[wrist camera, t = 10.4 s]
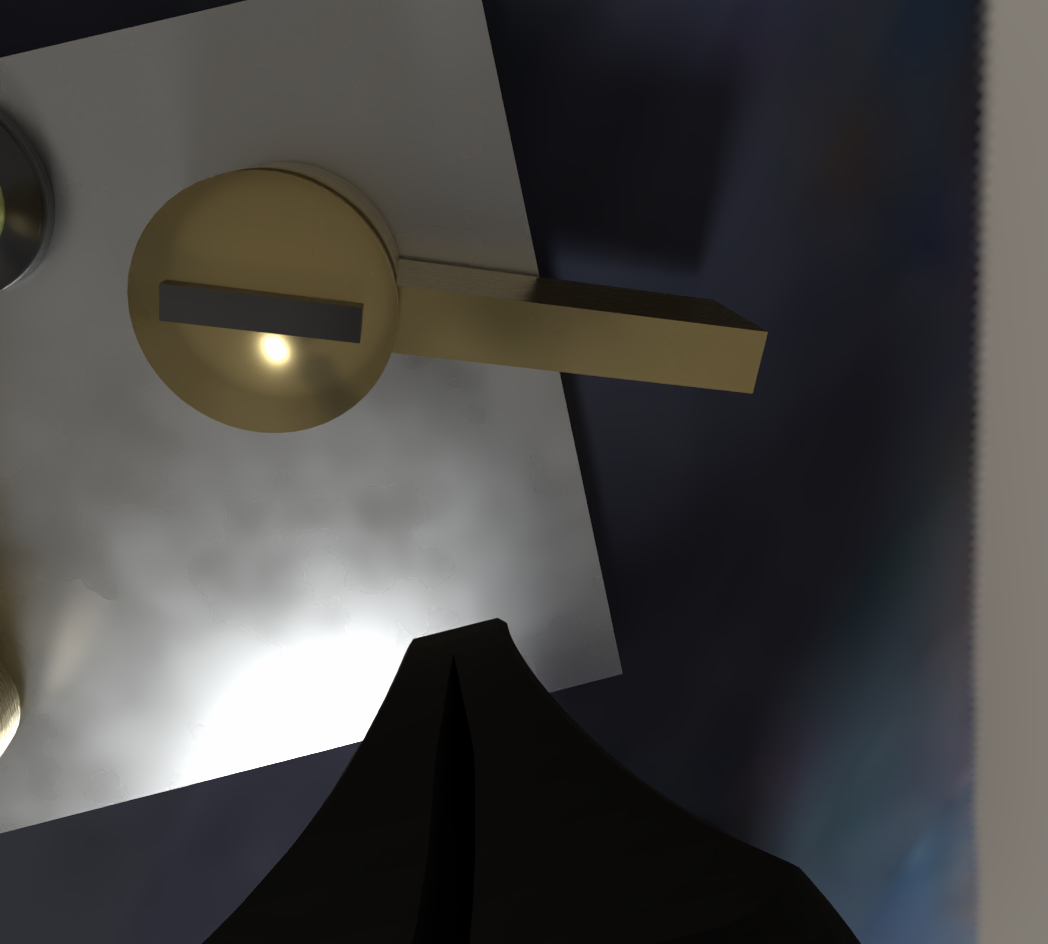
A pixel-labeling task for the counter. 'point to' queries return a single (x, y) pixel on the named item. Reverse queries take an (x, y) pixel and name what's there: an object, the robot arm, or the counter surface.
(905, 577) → the counter surface
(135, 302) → the knob
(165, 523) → the levelling plate
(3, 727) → the knob
